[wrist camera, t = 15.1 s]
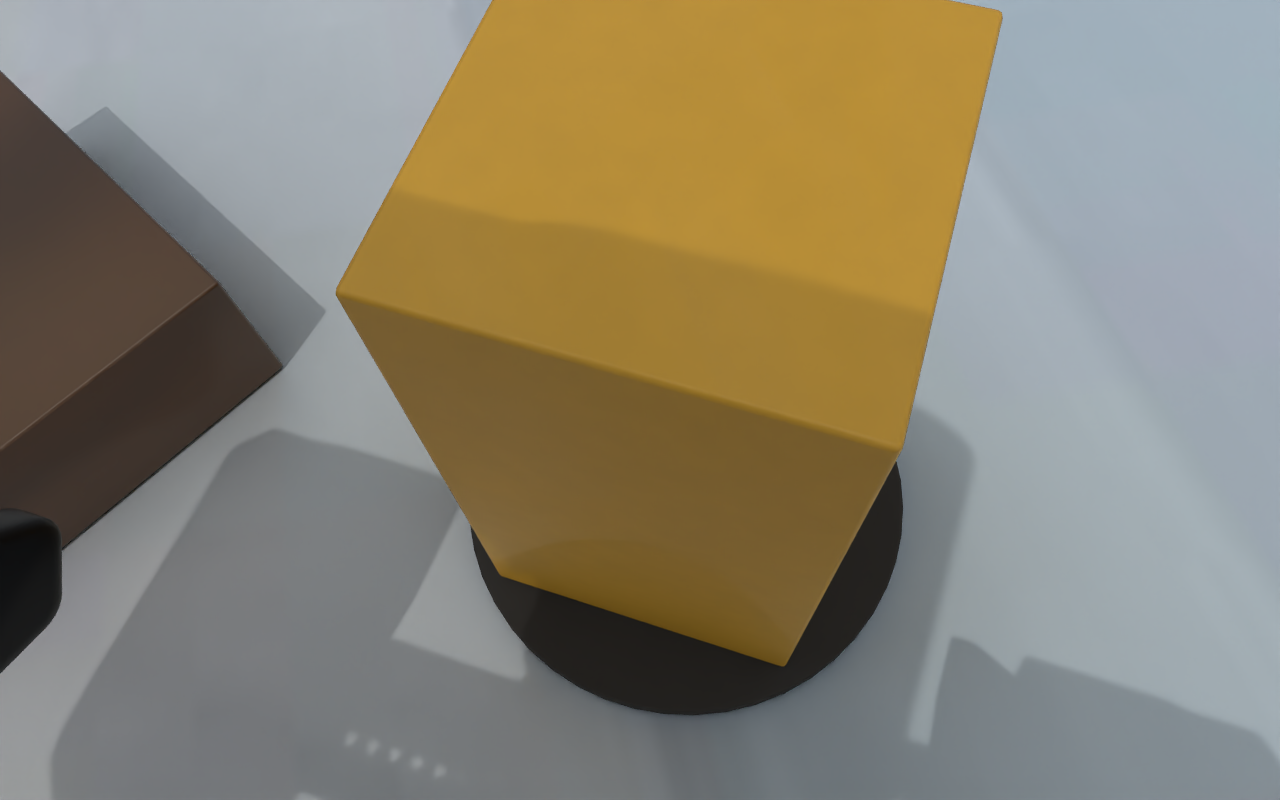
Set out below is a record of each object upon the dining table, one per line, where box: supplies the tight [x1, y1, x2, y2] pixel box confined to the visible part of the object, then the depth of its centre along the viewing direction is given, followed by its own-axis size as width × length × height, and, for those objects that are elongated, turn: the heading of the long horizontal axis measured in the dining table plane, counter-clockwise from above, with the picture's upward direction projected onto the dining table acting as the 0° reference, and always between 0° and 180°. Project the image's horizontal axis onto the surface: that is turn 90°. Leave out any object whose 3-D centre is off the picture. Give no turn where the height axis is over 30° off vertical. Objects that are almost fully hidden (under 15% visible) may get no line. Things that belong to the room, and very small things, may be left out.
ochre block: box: [336, 0, 1003, 666], centre depth 13 cm, size 5×5×9 cm
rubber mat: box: [470, 462, 903, 715], centre depth 17 cm, size 8×8×1 cm
